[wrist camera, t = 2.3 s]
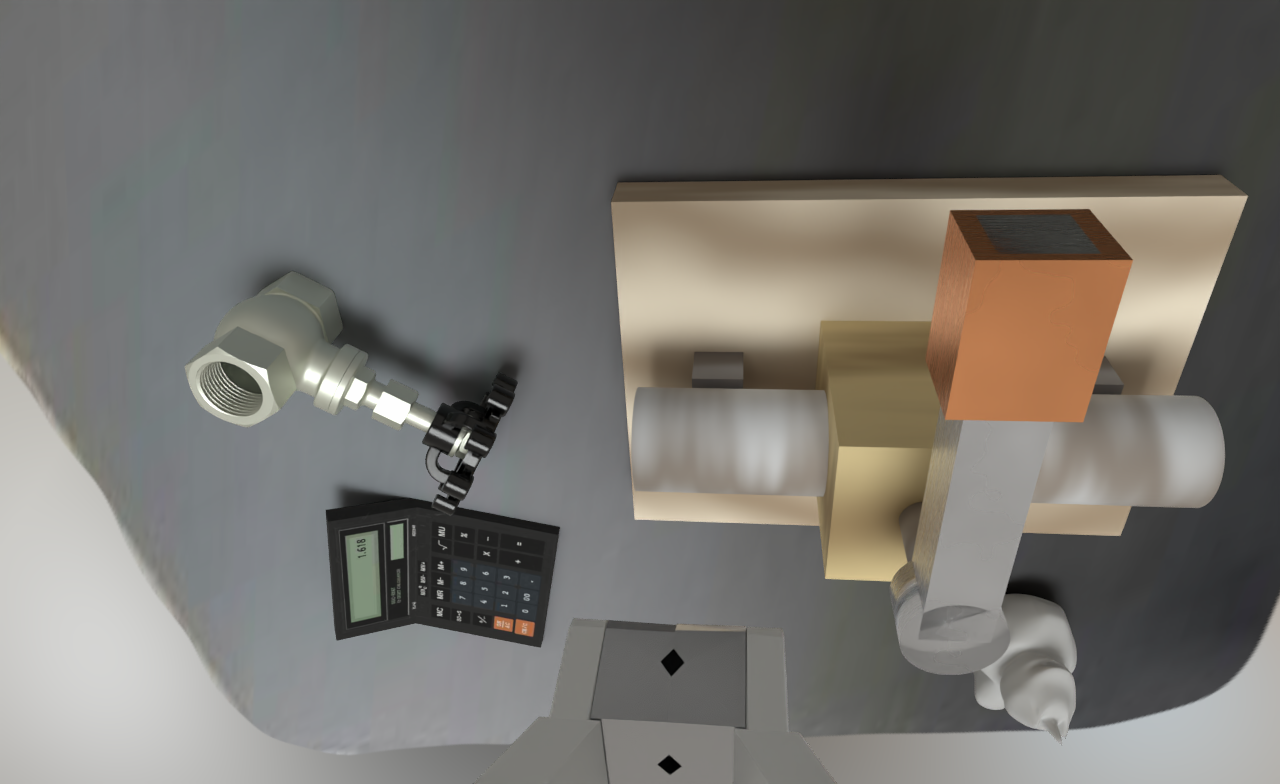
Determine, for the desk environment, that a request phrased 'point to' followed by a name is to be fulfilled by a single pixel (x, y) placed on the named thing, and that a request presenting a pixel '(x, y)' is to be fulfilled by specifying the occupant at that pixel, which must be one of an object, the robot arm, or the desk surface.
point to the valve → (332, 379)
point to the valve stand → (889, 353)
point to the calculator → (439, 570)
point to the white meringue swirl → (1033, 667)
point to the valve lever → (999, 412)
